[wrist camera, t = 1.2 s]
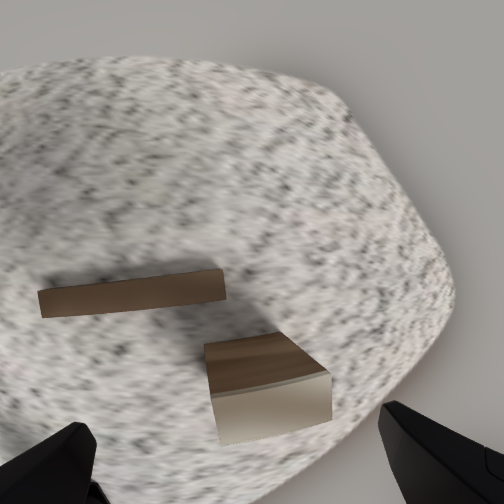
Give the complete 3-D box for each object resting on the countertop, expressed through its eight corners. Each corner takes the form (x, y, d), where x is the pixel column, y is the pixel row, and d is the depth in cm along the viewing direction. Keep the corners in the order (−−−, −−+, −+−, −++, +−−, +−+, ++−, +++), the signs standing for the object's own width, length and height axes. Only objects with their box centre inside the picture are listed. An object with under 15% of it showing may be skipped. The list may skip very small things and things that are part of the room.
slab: (284, 366, 22) (332, 420, 13) (210, 379, 21) (221, 446, 12) (280, 331, 22) (331, 373, 13) (203, 344, 21) (210, 398, 12)
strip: (223, 295, 21) (226, 299, 19) (53, 313, 19) (41, 318, 17) (220, 268, 21) (222, 269, 19) (49, 288, 19) (37, 291, 17)
